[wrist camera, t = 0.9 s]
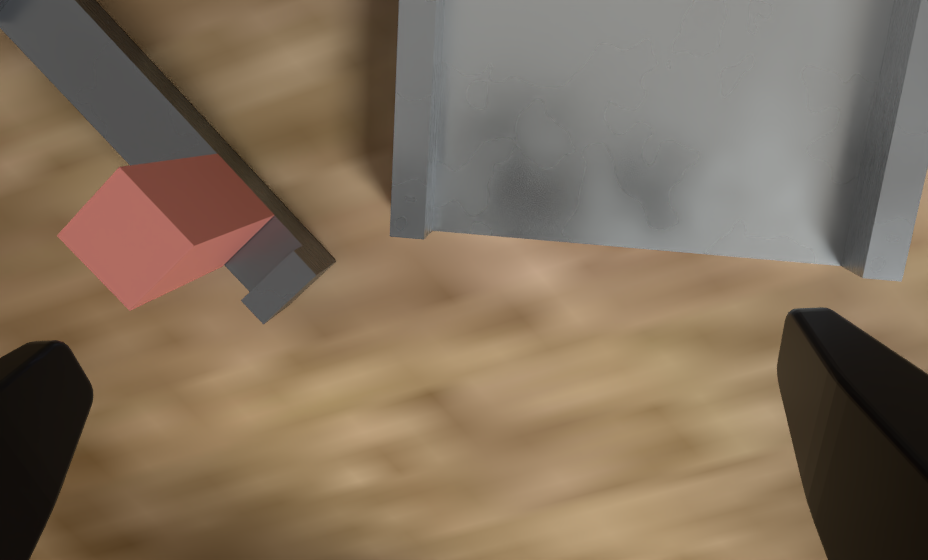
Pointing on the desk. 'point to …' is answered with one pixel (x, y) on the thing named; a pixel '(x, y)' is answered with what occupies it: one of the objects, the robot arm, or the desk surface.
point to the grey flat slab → (667, 125)
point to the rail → (158, 131)
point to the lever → (164, 225)
